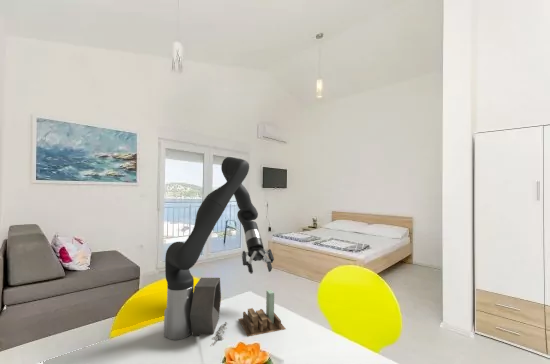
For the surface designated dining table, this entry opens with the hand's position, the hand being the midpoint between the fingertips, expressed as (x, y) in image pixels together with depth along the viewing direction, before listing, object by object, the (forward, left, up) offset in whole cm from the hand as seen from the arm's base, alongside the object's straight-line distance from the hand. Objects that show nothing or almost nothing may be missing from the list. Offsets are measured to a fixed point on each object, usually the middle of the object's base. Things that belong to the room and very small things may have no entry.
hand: (261, 271), depth 117 cm
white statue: (-14, -22, -18) cm, 32 cm away
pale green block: (+4, -11, -16) cm, 20 cm away
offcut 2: (+1, -12, -16) cm, 21 cm away
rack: (+1, -12, -17) cm, 21 cm away
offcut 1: (-2, -14, -16) cm, 21 cm away
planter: (-20, -14, -18) cm, 30 cm away
